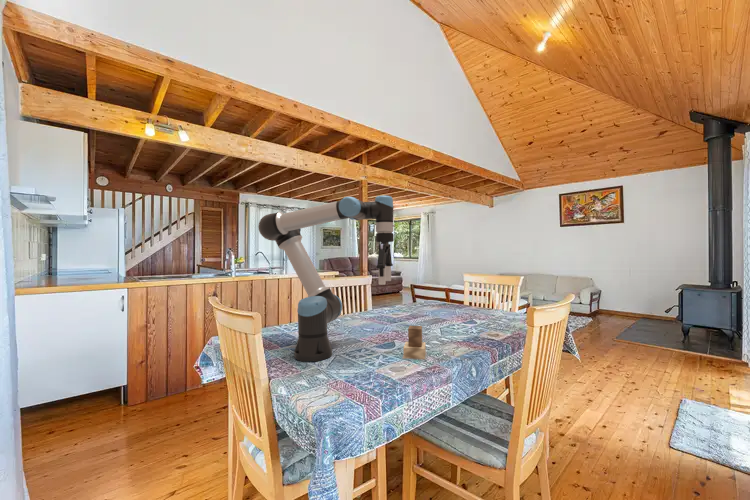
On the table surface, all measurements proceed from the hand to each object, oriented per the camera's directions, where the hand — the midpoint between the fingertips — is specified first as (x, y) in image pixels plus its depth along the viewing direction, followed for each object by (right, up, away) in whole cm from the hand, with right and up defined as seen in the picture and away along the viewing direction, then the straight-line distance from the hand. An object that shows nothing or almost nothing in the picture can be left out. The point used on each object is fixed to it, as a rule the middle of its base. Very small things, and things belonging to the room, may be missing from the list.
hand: (385, 282), depth 138 cm
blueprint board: (+11, -28, -10) cm, 32 cm away
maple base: (+11, -28, -10) cm, 31 cm away
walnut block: (+12, -24, -10) cm, 28 cm away
